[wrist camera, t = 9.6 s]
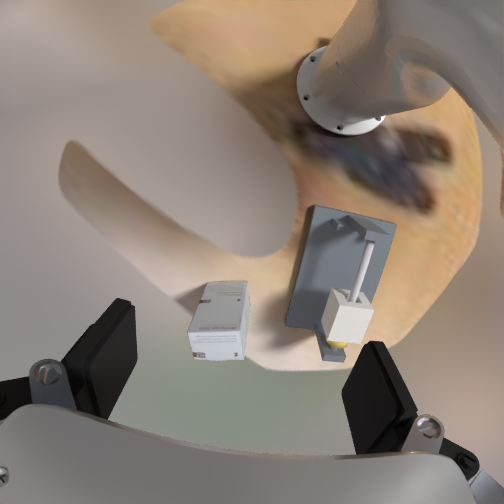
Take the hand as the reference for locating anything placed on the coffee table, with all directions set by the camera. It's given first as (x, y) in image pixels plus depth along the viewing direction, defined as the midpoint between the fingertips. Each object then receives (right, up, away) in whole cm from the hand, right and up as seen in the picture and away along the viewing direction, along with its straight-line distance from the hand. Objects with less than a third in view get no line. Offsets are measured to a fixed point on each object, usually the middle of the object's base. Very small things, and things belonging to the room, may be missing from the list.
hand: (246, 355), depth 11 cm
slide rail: (+13, +1, +29) cm, 32 cm away
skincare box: (-3, -2, +31) cm, 31 cm away
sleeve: (+12, -3, +26) cm, 29 cm away
